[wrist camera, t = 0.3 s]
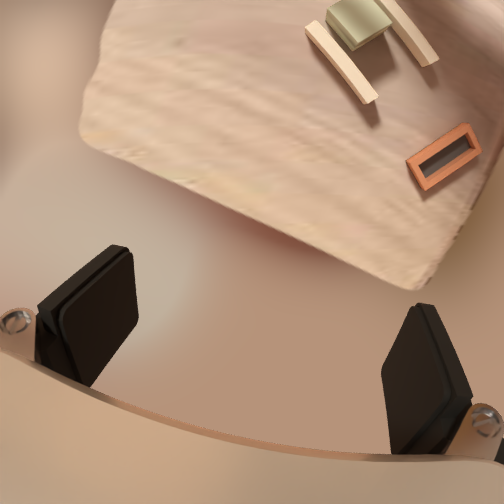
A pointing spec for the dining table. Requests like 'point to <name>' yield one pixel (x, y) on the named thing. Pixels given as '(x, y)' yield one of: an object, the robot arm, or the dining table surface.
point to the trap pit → (444, 156)
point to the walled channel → (349, 69)
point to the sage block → (357, 21)
